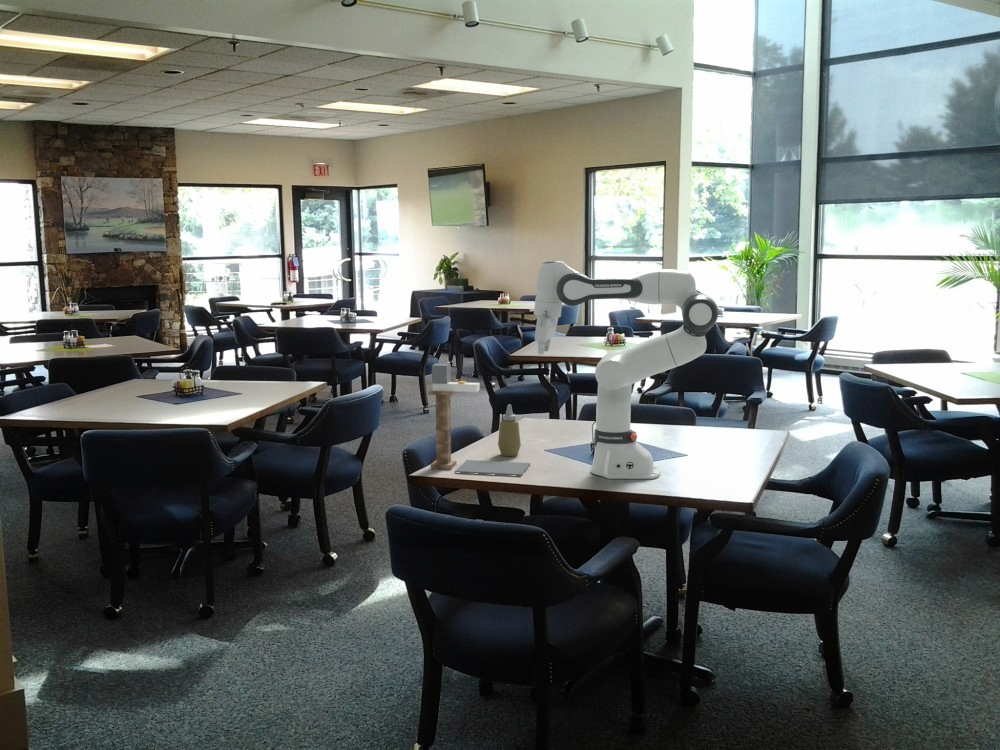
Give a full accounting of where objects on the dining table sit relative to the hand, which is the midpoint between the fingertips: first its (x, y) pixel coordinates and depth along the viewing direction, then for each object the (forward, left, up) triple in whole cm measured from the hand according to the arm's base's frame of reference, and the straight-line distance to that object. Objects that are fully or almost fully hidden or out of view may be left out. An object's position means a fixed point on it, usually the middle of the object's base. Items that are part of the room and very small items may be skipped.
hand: (543, 352), depth 304 cm
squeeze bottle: (+15, -18, -39) cm, 46 cm away
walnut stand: (+33, +4, -39) cm, 51 cm away
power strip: (+28, +4, -13) cm, 31 cm away
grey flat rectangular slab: (+16, +4, -39) cm, 42 cm away
